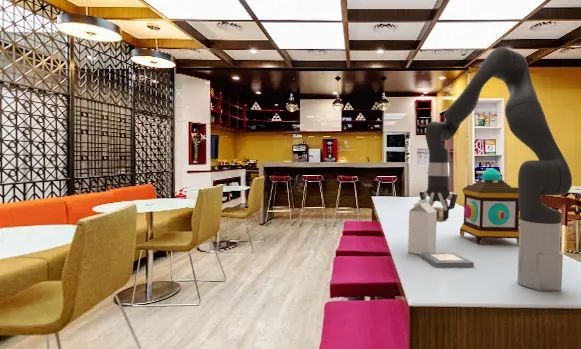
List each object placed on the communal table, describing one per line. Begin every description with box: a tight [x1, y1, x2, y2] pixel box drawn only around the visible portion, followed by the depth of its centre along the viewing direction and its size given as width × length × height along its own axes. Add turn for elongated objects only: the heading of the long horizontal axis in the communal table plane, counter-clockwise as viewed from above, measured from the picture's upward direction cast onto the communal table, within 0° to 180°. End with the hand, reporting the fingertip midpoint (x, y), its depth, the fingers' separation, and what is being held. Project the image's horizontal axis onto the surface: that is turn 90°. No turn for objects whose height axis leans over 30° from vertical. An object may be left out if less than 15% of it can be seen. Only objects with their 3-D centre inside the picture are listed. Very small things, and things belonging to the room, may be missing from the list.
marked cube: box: [432, 206, 448, 223], centre depth 145 cm, size 5×5×5 cm
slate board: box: [419, 252, 475, 268], centre depth 124 cm, size 12×12×2 cm
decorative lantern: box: [459, 167, 520, 246], centre depth 157 cm, size 20×20×30 cm
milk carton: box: [407, 198, 437, 256], centre depth 135 cm, size 7×7×19 cm
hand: (437, 219), depth 145 cm, fingers closed on marked cube, 5 cm apart
